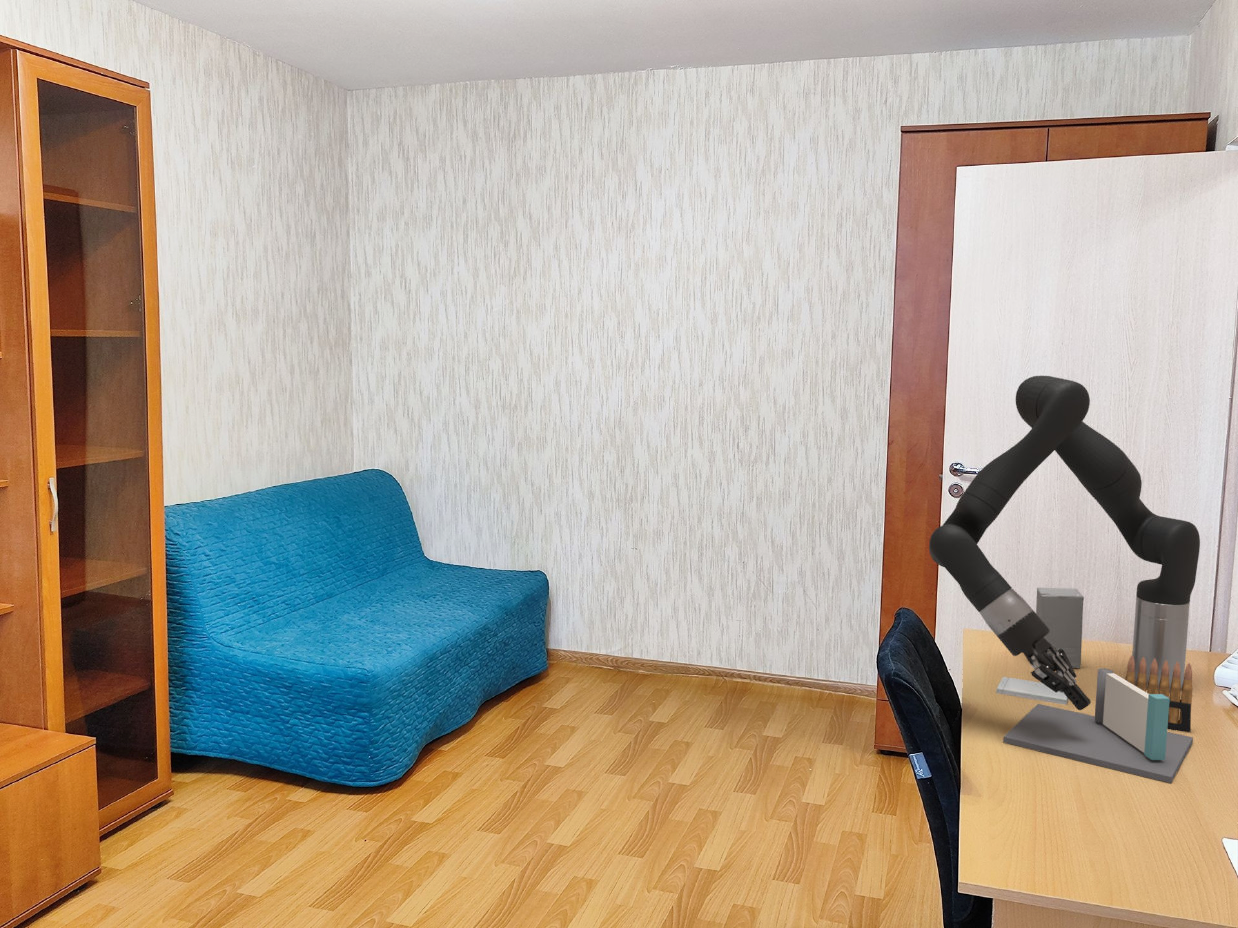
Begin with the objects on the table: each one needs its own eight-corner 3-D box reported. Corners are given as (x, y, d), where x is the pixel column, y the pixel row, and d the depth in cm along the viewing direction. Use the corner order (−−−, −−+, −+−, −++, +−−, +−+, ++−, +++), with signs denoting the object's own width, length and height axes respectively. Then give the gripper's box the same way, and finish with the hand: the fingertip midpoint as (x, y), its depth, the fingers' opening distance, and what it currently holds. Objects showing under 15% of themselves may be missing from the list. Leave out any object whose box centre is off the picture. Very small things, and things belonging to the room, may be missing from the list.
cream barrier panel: (1091, 718, 175) (1095, 662, 173) (1105, 717, 175) (1108, 662, 174) (1150, 759, 157) (1155, 698, 156) (1165, 759, 157) (1170, 698, 156)
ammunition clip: (1189, 729, 174) (1195, 662, 173) (1190, 732, 172) (1195, 665, 171) (1121, 718, 179) (1126, 653, 178) (1121, 721, 177) (1125, 656, 176)
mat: (1037, 708, 183) (1037, 703, 183) (1192, 742, 168) (1193, 737, 168) (1003, 742, 167) (1003, 736, 167) (1171, 783, 152) (1171, 776, 152)
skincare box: (1074, 660, 212) (1078, 587, 210) (1081, 670, 205) (1086, 595, 203) (1031, 657, 214) (1035, 584, 212) (1037, 667, 207) (1042, 592, 205)
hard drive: (1071, 686, 192) (1003, 675, 198) (1067, 699, 185) (996, 687, 191) (1070, 694, 193) (1002, 683, 199) (1066, 708, 185) (995, 695, 192)
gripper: (1019, 617, 164) (1094, 706, 158) (1041, 601, 175) (1113, 684, 169) (984, 642, 168) (1057, 730, 162) (1008, 625, 178) (1077, 707, 172)
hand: (1085, 706), depth 165 cm, fingers closed
